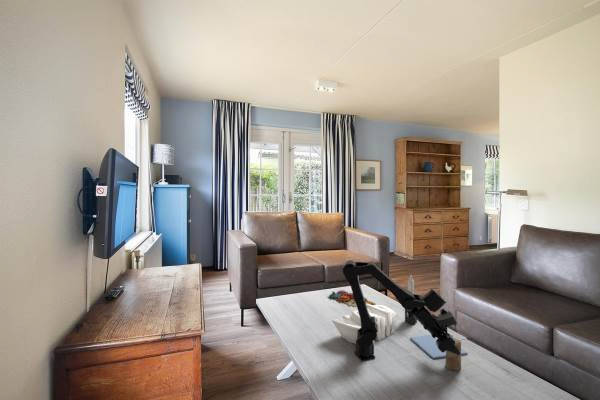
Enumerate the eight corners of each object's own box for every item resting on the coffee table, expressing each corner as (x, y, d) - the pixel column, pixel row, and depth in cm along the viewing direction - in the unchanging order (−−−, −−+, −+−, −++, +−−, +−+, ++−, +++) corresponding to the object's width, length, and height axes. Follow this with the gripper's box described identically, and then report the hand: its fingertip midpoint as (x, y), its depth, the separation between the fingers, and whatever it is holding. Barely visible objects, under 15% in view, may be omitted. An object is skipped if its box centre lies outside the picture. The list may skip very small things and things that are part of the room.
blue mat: (433, 359, 113) (433, 357, 113) (410, 339, 129) (410, 337, 129) (467, 354, 116) (467, 352, 116) (441, 335, 132) (441, 333, 132)
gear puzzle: (381, 305, 168) (381, 299, 168) (366, 313, 157) (366, 306, 157) (341, 292, 191) (341, 286, 191) (325, 298, 181) (325, 292, 181)
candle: (407, 318, 149) (407, 272, 149) (417, 321, 146) (417, 274, 145) (404, 322, 145) (404, 274, 145) (414, 325, 142) (414, 276, 141)
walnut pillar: (453, 371, 105) (453, 345, 104) (442, 363, 110) (442, 338, 110) (464, 369, 106) (464, 343, 106) (453, 361, 111) (453, 336, 111)
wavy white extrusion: (354, 353, 118) (354, 328, 117) (329, 337, 131) (328, 314, 131) (405, 329, 137) (405, 308, 137) (378, 317, 151) (378, 298, 151)
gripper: (448, 315, 99) (483, 350, 97) (436, 297, 117) (465, 325, 115) (424, 335, 101) (458, 369, 99) (416, 313, 120) (444, 342, 117)
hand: (457, 350), depth 107 cm, fingers closed on walnut pillar, 5 cm apart
